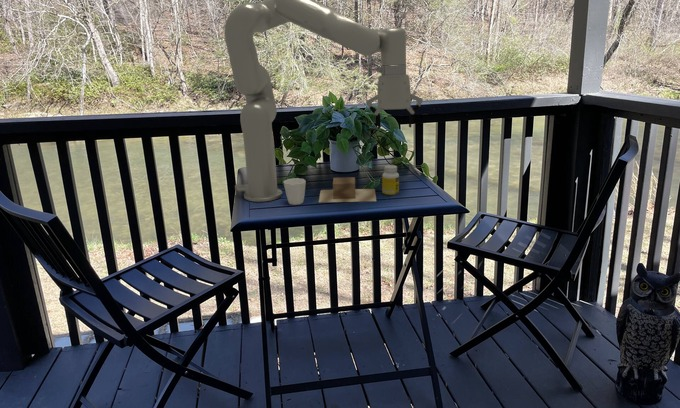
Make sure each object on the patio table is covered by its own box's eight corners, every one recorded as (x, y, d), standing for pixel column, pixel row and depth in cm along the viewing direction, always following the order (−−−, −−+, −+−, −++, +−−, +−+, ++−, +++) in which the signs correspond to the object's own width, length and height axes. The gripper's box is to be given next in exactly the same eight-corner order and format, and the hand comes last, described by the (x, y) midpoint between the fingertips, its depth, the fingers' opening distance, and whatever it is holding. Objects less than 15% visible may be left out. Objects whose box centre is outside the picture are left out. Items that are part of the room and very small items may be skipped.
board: (318, 205, 164) (318, 202, 164) (320, 192, 176) (320, 189, 176) (376, 204, 164) (376, 201, 163) (374, 191, 176) (374, 188, 176)
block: (333, 199, 166) (332, 183, 165) (333, 192, 173) (333, 177, 172) (355, 198, 166) (355, 183, 165) (355, 191, 173) (354, 177, 171)
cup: (282, 209, 161) (280, 184, 159) (288, 199, 171) (287, 175, 168) (305, 209, 161) (303, 184, 158) (310, 199, 170) (309, 175, 167)
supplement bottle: (398, 198, 168) (398, 168, 165) (381, 197, 170) (381, 168, 166) (399, 193, 174) (399, 164, 170) (383, 192, 175) (383, 164, 171)
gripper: (364, 73, 157) (366, 130, 162) (422, 70, 155) (422, 128, 160) (366, 70, 164) (367, 125, 169) (422, 68, 162) (422, 124, 167)
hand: (394, 126), depth 165 cm, fingers open, 9 cm apart
